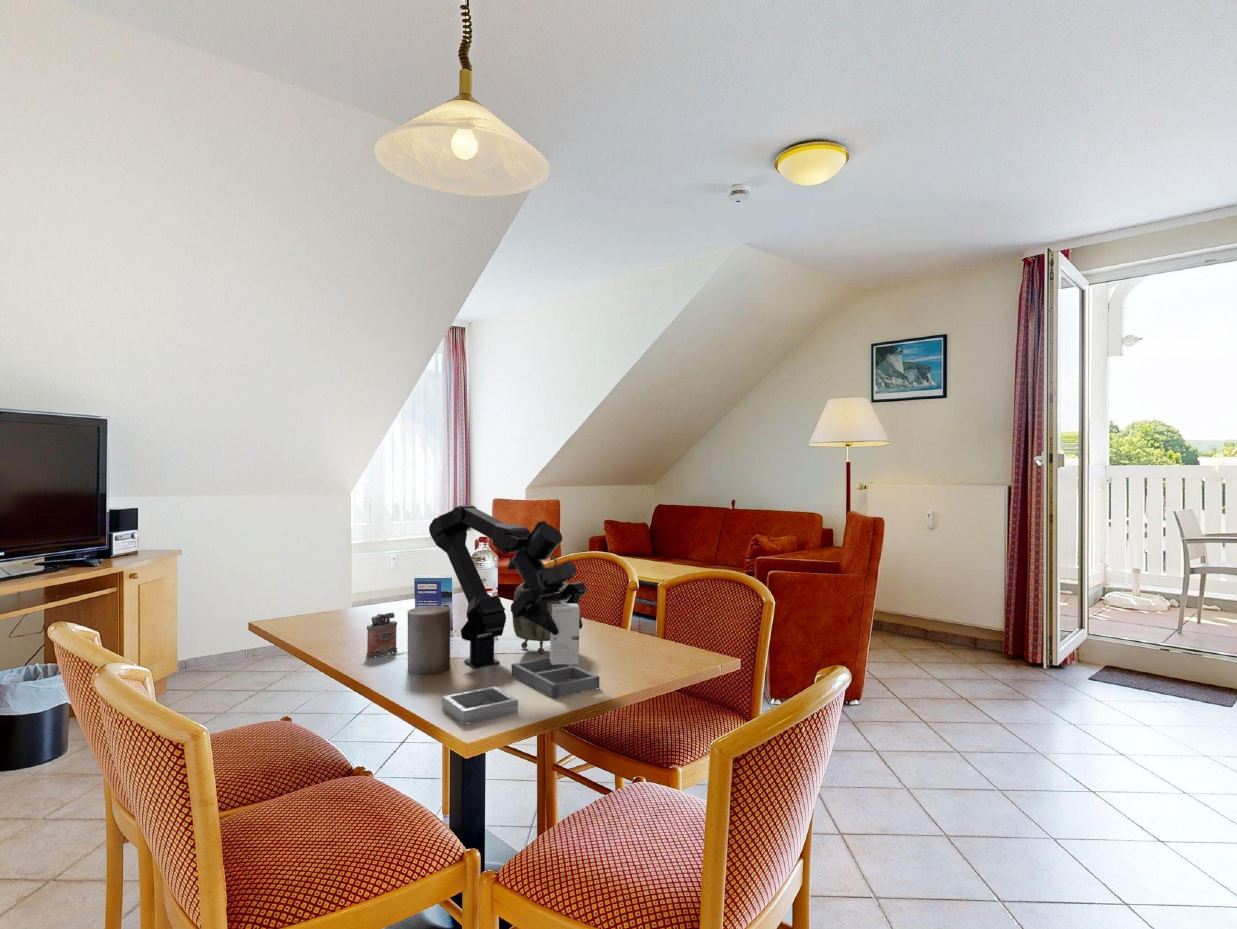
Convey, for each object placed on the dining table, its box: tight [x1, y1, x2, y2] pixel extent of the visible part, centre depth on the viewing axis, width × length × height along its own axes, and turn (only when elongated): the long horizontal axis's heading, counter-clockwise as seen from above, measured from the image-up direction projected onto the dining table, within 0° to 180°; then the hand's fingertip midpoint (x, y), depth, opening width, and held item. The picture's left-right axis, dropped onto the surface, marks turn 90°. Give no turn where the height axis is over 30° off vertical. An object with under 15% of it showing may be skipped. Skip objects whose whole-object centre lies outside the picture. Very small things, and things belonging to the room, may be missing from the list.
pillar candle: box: [407, 604, 451, 675], centre depth 158 cm, size 10×10×15 cm
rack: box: [511, 656, 600, 699], centre depth 149 cm, size 19×11×2 cm, turn 36°
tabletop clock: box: [512, 554, 570, 655], centre depth 174 cm, size 14×9×25 cm, turn 84°
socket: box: [441, 685, 519, 726], centre depth 130 cm, size 10×11×2 cm
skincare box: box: [549, 603, 581, 665], centre depth 145 cm, size 6×4×12 cm
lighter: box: [366, 612, 398, 658], centre depth 171 cm, size 8×3×10 cm, turn 143°
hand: (569, 630), depth 145 cm, fingers closed on skincare box, 7 cm apart
